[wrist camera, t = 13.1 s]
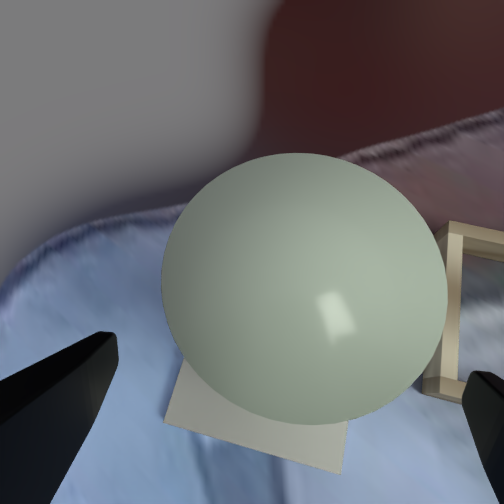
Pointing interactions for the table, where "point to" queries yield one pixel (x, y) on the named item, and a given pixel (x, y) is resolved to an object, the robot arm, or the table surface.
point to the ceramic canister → (304, 289)
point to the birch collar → (456, 302)
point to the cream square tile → (252, 425)
